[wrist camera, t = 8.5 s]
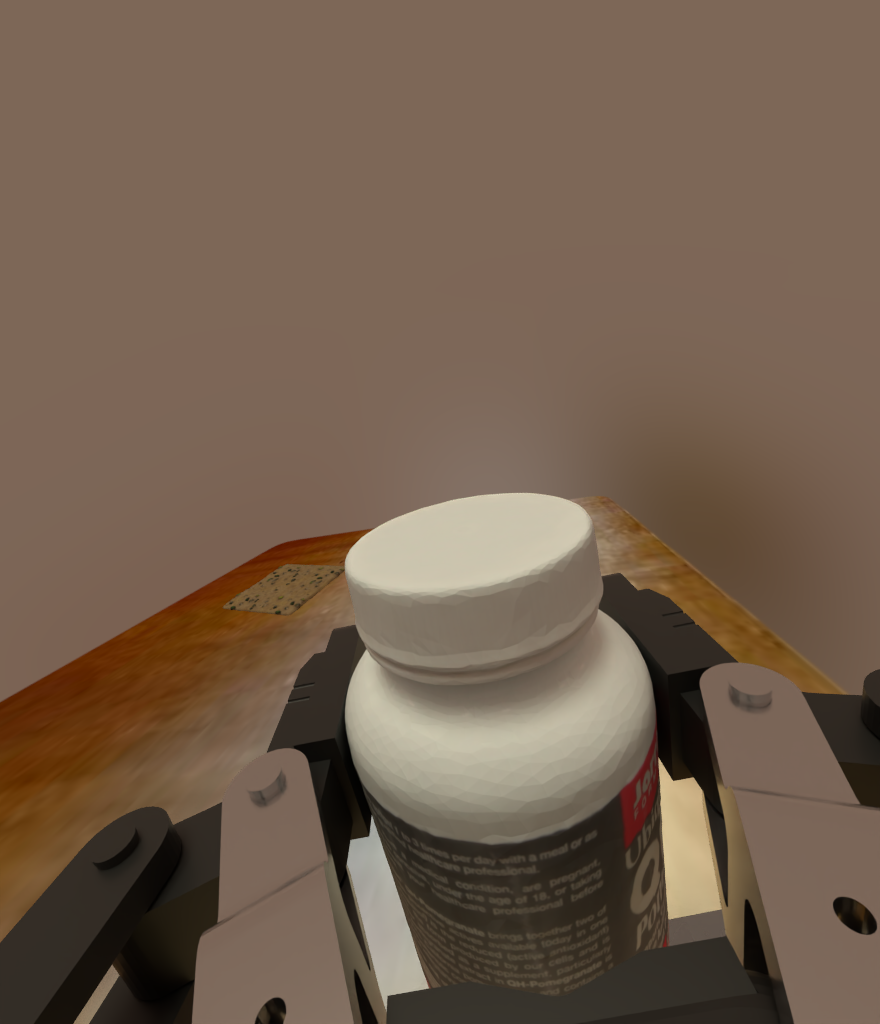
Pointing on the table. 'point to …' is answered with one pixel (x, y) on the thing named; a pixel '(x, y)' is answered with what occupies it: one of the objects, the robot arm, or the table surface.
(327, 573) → the cookie
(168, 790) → the table surface
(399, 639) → the pill bottle
